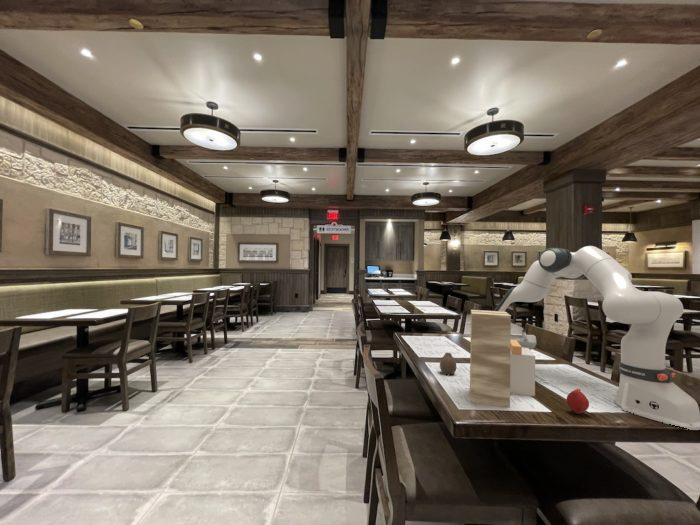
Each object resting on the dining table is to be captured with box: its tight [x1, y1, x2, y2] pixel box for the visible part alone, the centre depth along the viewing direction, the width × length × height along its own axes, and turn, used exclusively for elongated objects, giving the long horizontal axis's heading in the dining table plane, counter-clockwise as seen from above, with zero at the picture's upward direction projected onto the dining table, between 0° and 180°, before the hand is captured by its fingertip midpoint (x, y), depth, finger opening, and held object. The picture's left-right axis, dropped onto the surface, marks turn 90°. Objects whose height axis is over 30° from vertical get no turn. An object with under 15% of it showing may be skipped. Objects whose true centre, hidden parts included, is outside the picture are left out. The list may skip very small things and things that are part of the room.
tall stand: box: [469, 309, 512, 408], centre depth 114 cm, size 12×12×30 cm
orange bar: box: [510, 337, 522, 355], centre depth 127 cm, size 19×3×3 cm, turn 161°
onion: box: [566, 387, 590, 415], centre depth 103 cm, size 6×6×8 cm
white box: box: [510, 347, 536, 397], centre depth 125 cm, size 13×12×14 cm
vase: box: [439, 352, 457, 375], centre depth 141 cm, size 7×7×9 cm
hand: (511, 333), depth 132 cm, fingers open, 8 cm apart
